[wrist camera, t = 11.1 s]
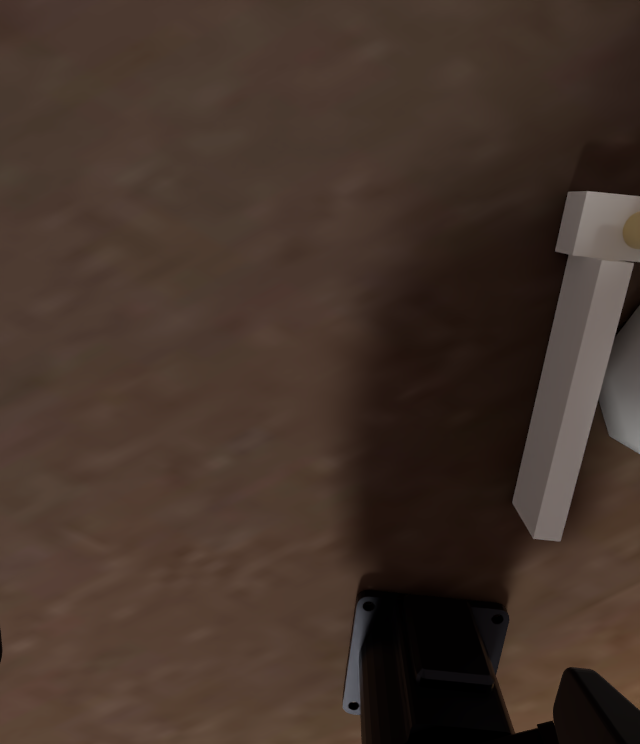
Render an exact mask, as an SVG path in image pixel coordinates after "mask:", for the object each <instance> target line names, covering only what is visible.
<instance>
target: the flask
mask: <svg viewBox="0 0 640 744" xmlns="http://www.w3.org/2000/svg"><path fill="white" fill-rule="evenodd" d="M598 400H599V403H600V407H601V410H602V413H603V417H604V420H605V423H606V427H607V430H608V433H609V436H610V437H612V438H613V439H615V440H617V441H618V442H620V443H622V444H624V445H625V446H627V447H629V448H630V449H632V450H634V451H636V452H637V453H639V454H640V305H639V307H638V308H637V309H636V311H635V312H634V313H633V315H632V316H631V317H630V318H629V320H628V321H627V322H626V324H625V325H624V326H623V328H622V329H621V330H620V331H619V333H618V334H617V335H616V337H615V338H614V341H613V345H612V349H611V353H610V357H609V360H608V364H607V368H606V372H605V375H604V379H603V383H602V387H601V391H600V394H599V398H598Z"/></svg>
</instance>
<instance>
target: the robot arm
mask: <svg viewBox="0 0 640 744" xmlns="http://www.w3.org/2000/svg"><path fill="white" fill-rule="evenodd" d="M368 601H370V602H372V604H370V605H366V604H364V603H365V602H368ZM497 614H499V615H500V616H498V617H493V616H494V615H497ZM508 623H509V615H508V613H507V610H506V608H505V607H504V606H503V605H502V604H499V603H492V602H482V601H472V600H462V599H452V598H442V597H432V596H422V595H412V594H402V593H392V592H382V591H373V590H365V591H362V592H361V593H359V594H358V596H357V599H356V606H355V613H354V620H353V627H352V634H351V641H350V648H349V656H348V663H347V670H346V677H345V684H344V691H343V709H344V710H345V711H346V712H347V713H349V714H355V715H361V737H362V744H640V710H639V709H638V708H636V707H635V706H634V705H633V704H632V703H631V702H630V701H629V700H627V699H626V698H625V697H624V696H623V695H622V694H621V693H619V692H618V691H617V690H616V689H615V688H614V687H613V686H612V685H610V684H609V683H608V682H607V681H606V680H605V679H604V678H603V677H601V676H600V675H599V674H598V673H597V672H595V671H593V670H591V669H584V668H574V667H569V668H567V669H566V670H565V671H564V672H563V675H562V678H561V682H560V685H559V689H558V692H557V696H556V699H555V703H554V707H553V719H554V723H553V721H549V722H545V723H541V724H537V727H538V728H535V729H531V730H527V731H523V732H519V733H515V732H514V729H513V726H512V723H511V720H510V717H509V714H508V711H507V708H506V705H505V702H504V699H503V696H502V693H501V690H500V687H499V684H498V681H497V678H496V672H497V668H498V664H499V660H500V656H501V652H502V648H503V644H504V640H505V636H506V632H507V627H508ZM1 658H2V641H1V630H0V662H1ZM353 702H354V703H353Z"/></svg>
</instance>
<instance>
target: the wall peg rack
mask: <svg viewBox="0 0 640 744" xmlns="http://www.w3.org/2000/svg"><path fill="white" fill-rule="evenodd" d="M555 252H560V253H564V254H568V260H567V264H566V268H565V273H564V277H563V282H562V286H561V290H560V295H559V299H558V304H557V308H556V312H555V317H554V321H553V325H552V330H551V334H550V339H549V343H548V347H547V352H546V356H545V361H544V365H543V369H542V374H541V378H540V382H539V387H538V391H537V396H536V400H535V404H534V409H533V413H532V418H531V422H530V426H529V431H528V435H527V439H526V444H525V448H524V453H523V457H522V461H521V466H520V470H519V475H518V479H517V483H516V488H515V492H514V496H513V501H512V503H513V505H514V507H515V508H516V510H517V512H518V514H519V515H520V517H521V519H522V521H523V522H524V524H525V526H526V527H527V529H528V531H529V533H530V534H531V536H532V538H533V539H540V540H550V541H560V542H561V538H562V534H563V530H564V527H565V523H566V519H567V515H568V512H569V508H570V504H571V500H572V496H573V493H574V489H575V485H576V481H577V478H578V474H579V470H580V466H581V462H582V459H583V455H584V451H585V447H586V444H587V440H588V436H589V432H590V428H591V425H592V421H593V417H594V413H595V410H596V406H597V402H598V398H599V394H600V391H601V387H602V383H603V379H604V375H605V372H606V368H607V364H608V360H609V357H610V353H611V349H612V345H613V341H614V338H615V334H616V330H617V326H618V323H619V319H620V315H621V311H622V307H623V304H624V300H625V296H626V292H627V289H628V285H629V281H630V277H631V273H632V270H633V266H634V263H630V262H625V261H633V262H640V196H632V195H622V194H612V193H602V192H592V191H576V192H568V194H567V199H566V203H565V208H564V213H563V217H562V222H561V226H560V231H559V235H558V240H557V244H556V249H555ZM620 260H623V261H620Z"/></svg>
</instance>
